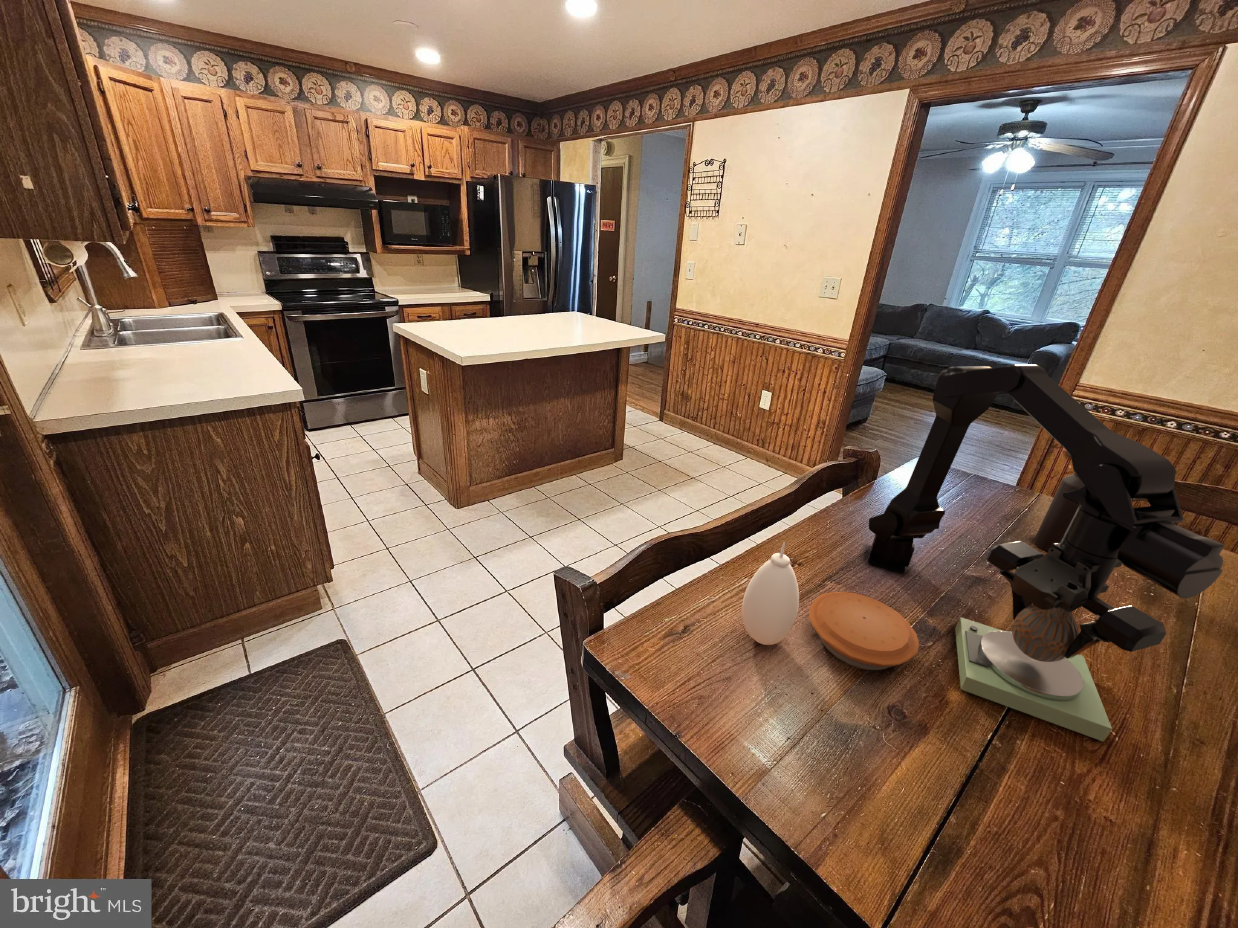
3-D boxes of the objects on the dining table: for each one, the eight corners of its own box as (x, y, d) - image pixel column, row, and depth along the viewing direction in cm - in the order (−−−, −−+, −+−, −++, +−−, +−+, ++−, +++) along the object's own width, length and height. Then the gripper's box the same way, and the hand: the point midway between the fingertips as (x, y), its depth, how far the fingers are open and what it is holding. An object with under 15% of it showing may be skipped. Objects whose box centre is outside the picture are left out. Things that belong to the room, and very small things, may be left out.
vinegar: (1070, 545, 109) (1114, 460, 100) (1075, 560, 104) (1122, 472, 95) (1032, 534, 112) (1071, 451, 103) (1034, 549, 107) (1076, 462, 98)
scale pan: (983, 676, 71) (985, 672, 71) (975, 623, 81) (977, 620, 81) (1091, 714, 66) (1094, 710, 66) (1069, 653, 76) (1071, 649, 76)
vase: (1075, 674, 69) (1105, 625, 65) (1019, 664, 70) (1045, 615, 66) (1048, 638, 75) (1074, 590, 71) (996, 629, 76) (1019, 582, 72)
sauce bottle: (754, 614, 84) (774, 521, 77) (797, 640, 80) (823, 543, 72) (727, 637, 79) (745, 540, 72) (771, 666, 74) (796, 565, 67)
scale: (960, 689, 72) (967, 675, 71) (954, 628, 84) (960, 615, 83) (1103, 741, 66) (1113, 727, 65) (1076, 668, 77) (1084, 654, 76)
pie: (903, 622, 84) (912, 599, 82) (920, 696, 71) (931, 670, 69) (805, 598, 89) (811, 575, 86) (803, 663, 75) (811, 638, 73)
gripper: (978, 514, 71) (941, 602, 77) (1133, 604, 55) (1070, 705, 61) (1036, 505, 74) (996, 591, 80) (1200, 588, 58) (1132, 686, 65)
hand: (1041, 637), depth 72 cm, fingers closed on vase, 7 cm apart
